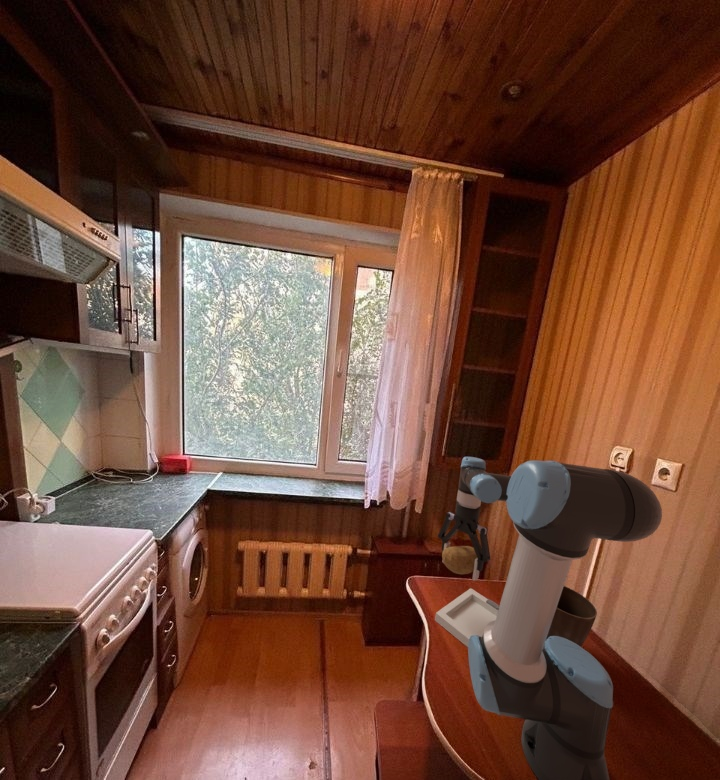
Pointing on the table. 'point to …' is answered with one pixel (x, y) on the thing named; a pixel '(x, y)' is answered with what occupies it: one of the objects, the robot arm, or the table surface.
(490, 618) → the white rimmed tray
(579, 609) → the plant pot
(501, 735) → the table surface
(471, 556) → the potato
